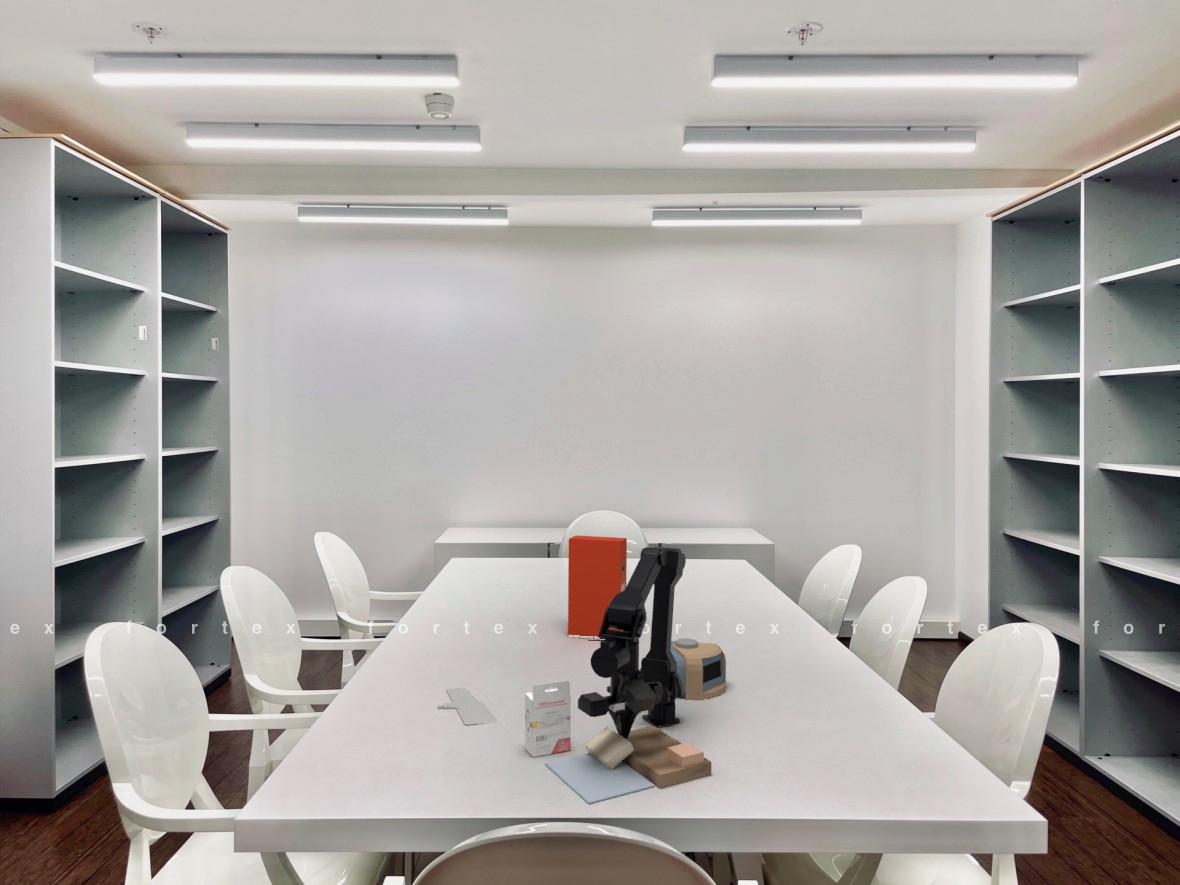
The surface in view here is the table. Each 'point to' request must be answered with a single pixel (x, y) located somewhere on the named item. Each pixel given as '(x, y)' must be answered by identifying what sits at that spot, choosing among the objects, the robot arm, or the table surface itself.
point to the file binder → (594, 580)
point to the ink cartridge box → (547, 719)
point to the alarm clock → (700, 668)
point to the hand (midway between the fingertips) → (623, 740)
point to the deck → (660, 759)
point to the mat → (597, 778)
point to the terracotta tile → (685, 755)
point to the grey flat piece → (468, 707)
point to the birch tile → (609, 747)
